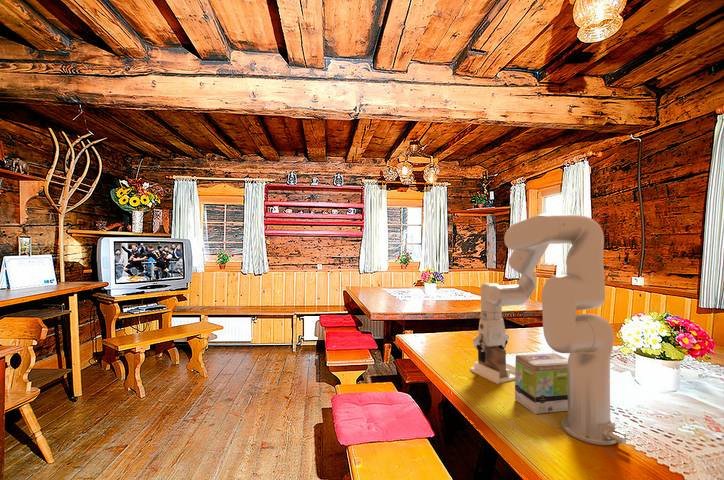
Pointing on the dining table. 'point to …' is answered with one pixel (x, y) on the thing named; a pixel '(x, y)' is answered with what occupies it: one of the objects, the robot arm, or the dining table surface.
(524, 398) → the tea box
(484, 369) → the rack
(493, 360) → the walnut board
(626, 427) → the dining table surface
